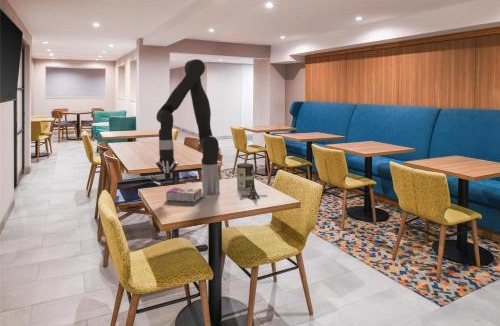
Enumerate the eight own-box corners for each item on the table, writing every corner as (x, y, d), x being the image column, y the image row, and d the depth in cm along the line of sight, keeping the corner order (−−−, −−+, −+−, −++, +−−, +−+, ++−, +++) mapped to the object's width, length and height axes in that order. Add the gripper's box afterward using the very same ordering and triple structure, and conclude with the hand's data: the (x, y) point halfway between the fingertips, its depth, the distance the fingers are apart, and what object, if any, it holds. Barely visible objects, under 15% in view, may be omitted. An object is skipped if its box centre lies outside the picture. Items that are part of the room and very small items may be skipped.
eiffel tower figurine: (267, 196, 211) (268, 173, 208) (267, 201, 201) (267, 177, 198) (241, 195, 212) (241, 172, 210) (239, 200, 202) (239, 176, 200)
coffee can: (253, 185, 234) (253, 163, 231) (253, 189, 224) (253, 166, 221) (237, 185, 234) (236, 163, 231) (236, 189, 224) (236, 166, 221)
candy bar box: (173, 186, 209) (201, 188, 206) (174, 195, 210) (202, 197, 207) (165, 191, 198) (195, 193, 195) (166, 200, 199) (195, 202, 196)
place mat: (206, 197, 207) (206, 196, 207) (194, 205, 192) (194, 204, 192) (178, 195, 212) (178, 194, 212) (164, 203, 197) (164, 202, 197)
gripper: (180, 147, 201) (182, 178, 205) (158, 146, 205) (160, 177, 208) (174, 149, 194) (175, 181, 197) (151, 148, 198) (153, 180, 201)
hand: (167, 179), depth 203 cm, fingers closed
